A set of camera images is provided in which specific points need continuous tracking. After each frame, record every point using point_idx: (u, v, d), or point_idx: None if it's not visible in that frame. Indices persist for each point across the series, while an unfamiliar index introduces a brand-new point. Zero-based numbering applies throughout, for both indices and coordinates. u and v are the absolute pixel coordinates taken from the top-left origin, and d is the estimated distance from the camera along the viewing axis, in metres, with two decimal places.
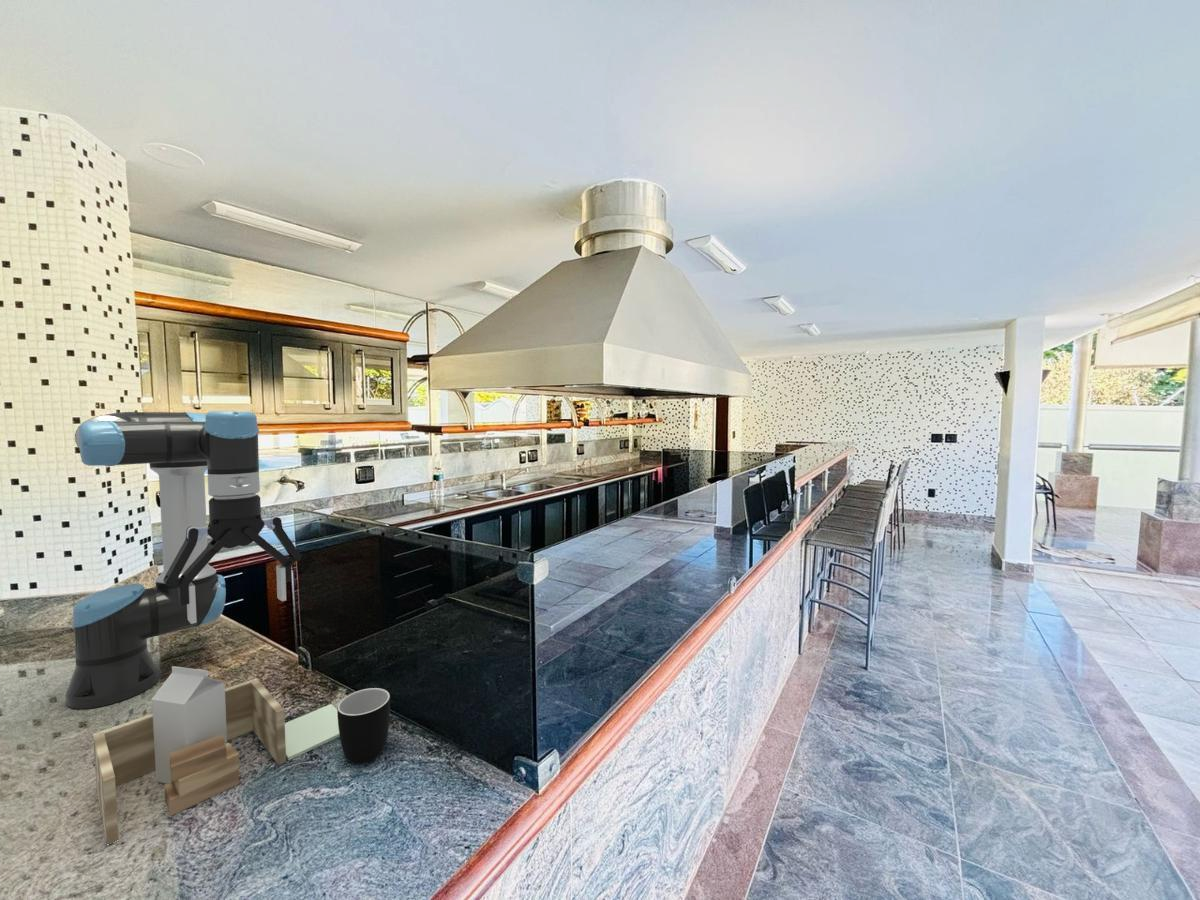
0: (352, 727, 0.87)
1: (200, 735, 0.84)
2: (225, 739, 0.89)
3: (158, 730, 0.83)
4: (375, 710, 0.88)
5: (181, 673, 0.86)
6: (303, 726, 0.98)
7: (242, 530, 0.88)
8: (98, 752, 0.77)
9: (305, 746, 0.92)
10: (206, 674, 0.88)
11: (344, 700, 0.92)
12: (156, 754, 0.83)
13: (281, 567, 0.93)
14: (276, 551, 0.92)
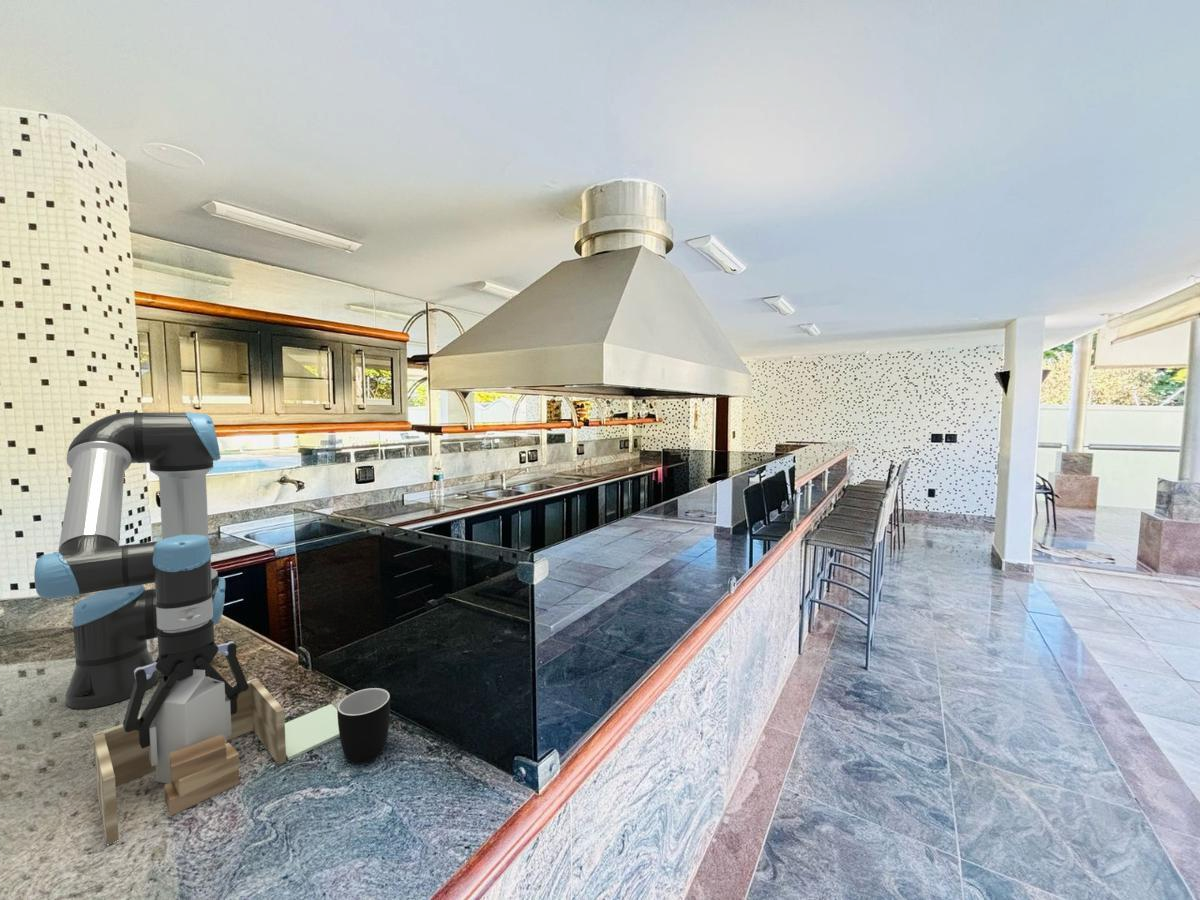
0: (352, 727, 0.87)
1: (200, 735, 0.84)
2: (225, 739, 0.89)
3: (158, 730, 0.83)
4: (375, 710, 0.88)
5: None
6: (303, 726, 0.98)
7: (194, 659, 0.85)
8: (98, 752, 0.77)
9: (305, 746, 0.92)
10: (206, 674, 0.88)
11: (344, 700, 0.92)
12: None
13: (226, 700, 0.89)
14: (224, 682, 0.88)
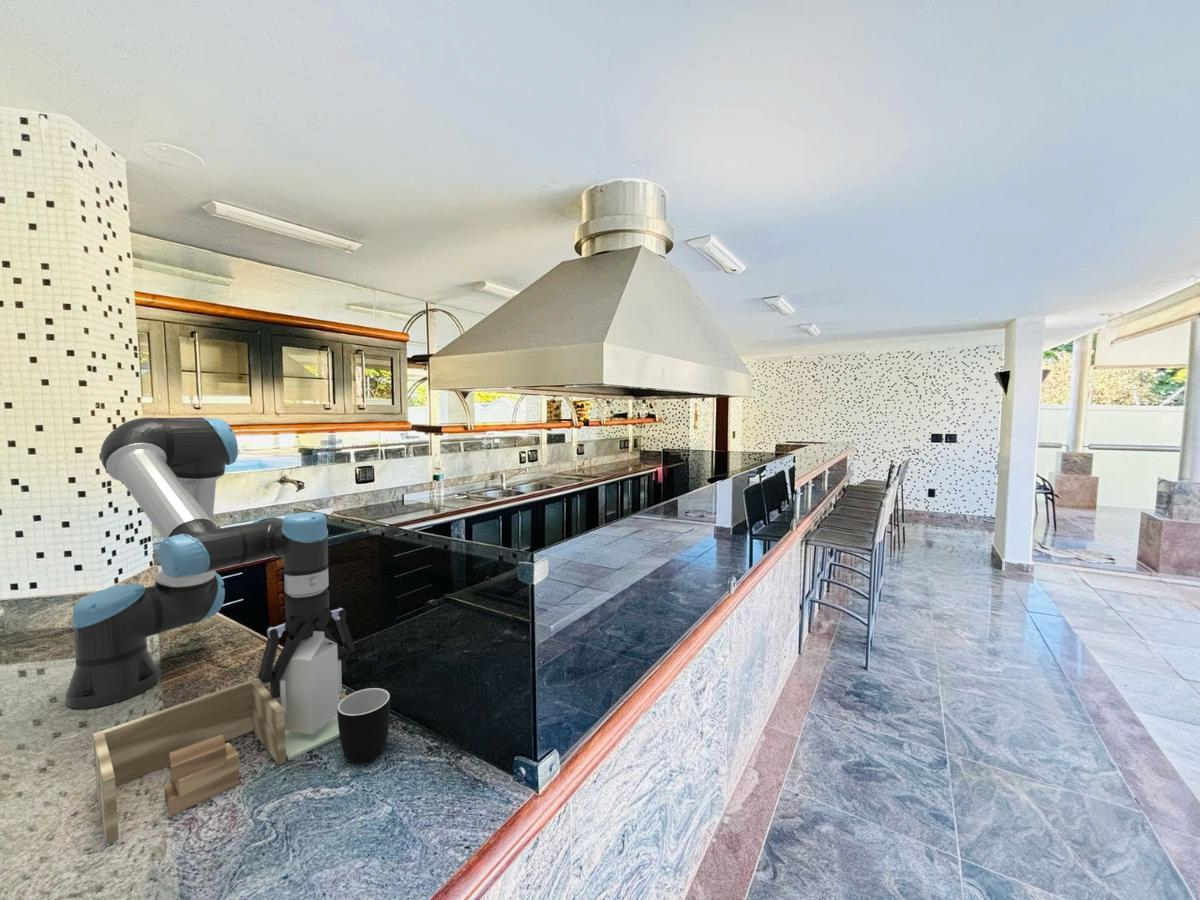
0: (352, 727, 0.87)
1: (320, 689, 0.95)
2: (337, 694, 1.00)
3: (285, 684, 0.94)
4: (375, 710, 0.88)
5: None
6: None
7: (314, 622, 0.96)
8: (98, 752, 0.77)
9: (305, 746, 0.92)
10: None
11: (344, 700, 0.92)
12: None
13: None
14: None
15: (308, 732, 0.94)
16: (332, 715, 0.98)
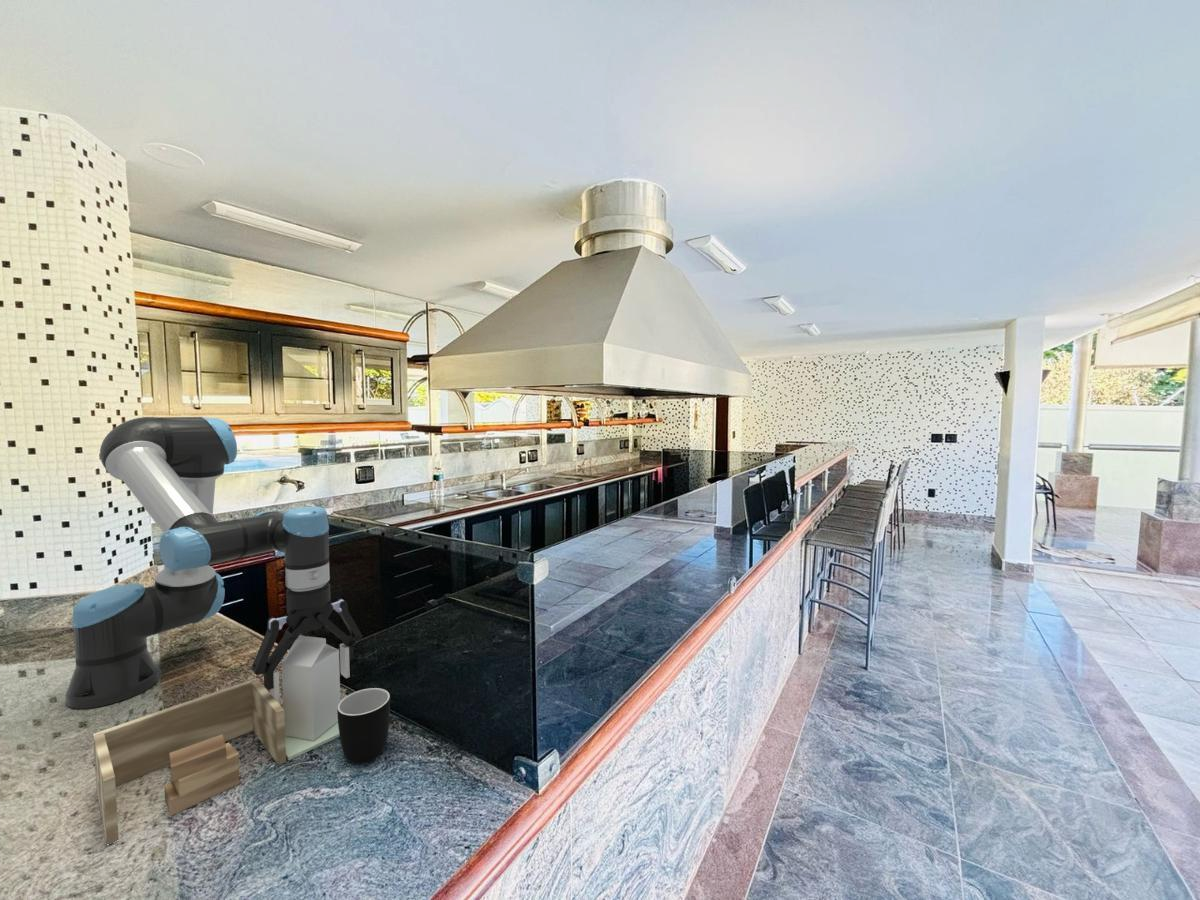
0: (352, 727, 0.87)
1: (322, 695, 0.95)
2: (339, 700, 1.00)
3: (287, 690, 0.94)
4: (375, 710, 0.88)
5: (304, 641, 0.97)
6: None
7: (315, 616, 0.96)
8: (98, 752, 0.77)
9: (305, 746, 0.92)
10: None
11: (344, 700, 0.92)
12: (285, 711, 0.95)
13: (345, 647, 1.02)
14: (342, 633, 1.01)
15: (309, 738, 0.94)
16: (333, 721, 0.99)
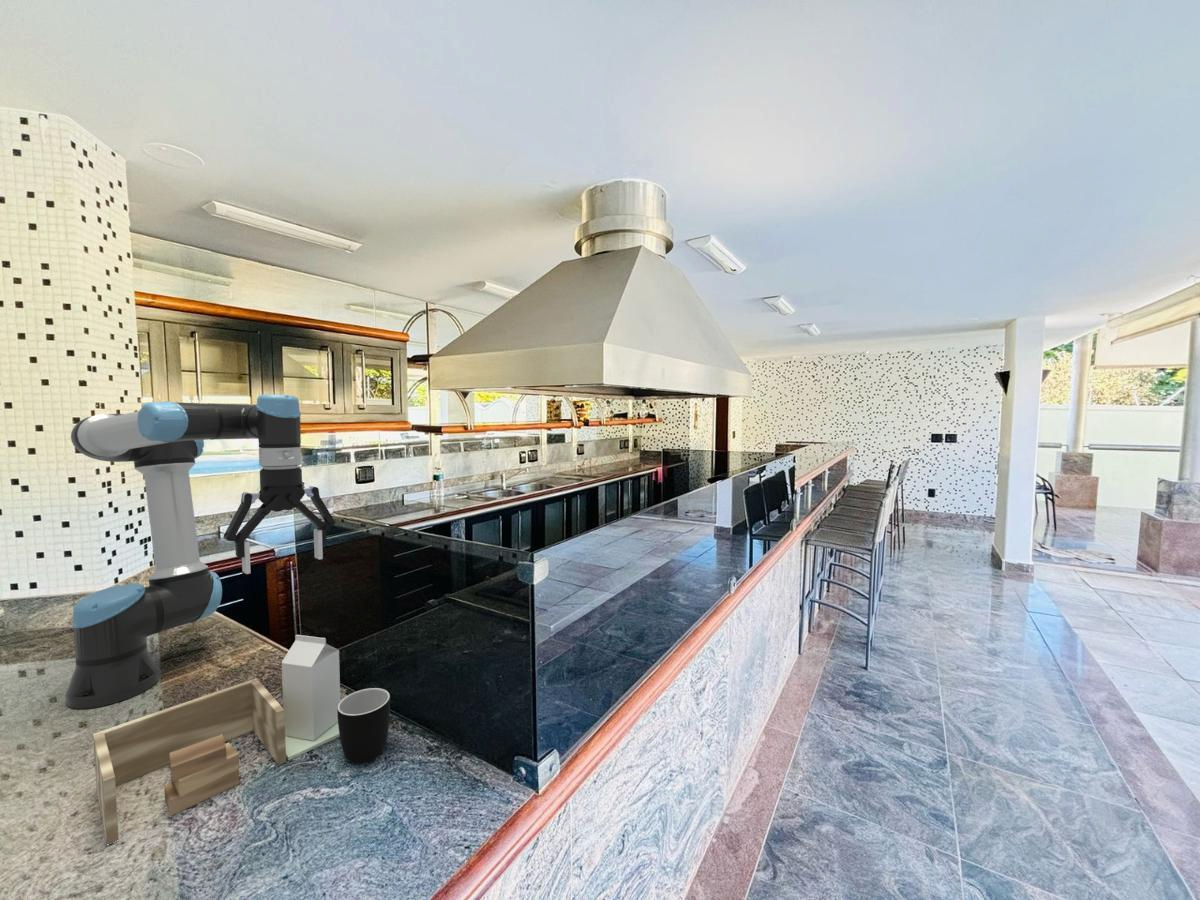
0: (352, 727, 0.87)
1: (322, 695, 0.95)
2: (339, 700, 1.00)
3: (287, 690, 0.94)
4: (375, 710, 0.88)
5: (304, 641, 0.97)
6: None
7: (287, 496, 1.03)
8: (98, 752, 0.77)
9: (305, 746, 0.92)
10: None
11: (344, 700, 0.92)
12: (285, 711, 0.95)
13: (318, 530, 1.08)
14: (314, 516, 1.07)
15: (309, 738, 0.94)
16: (333, 721, 0.99)
